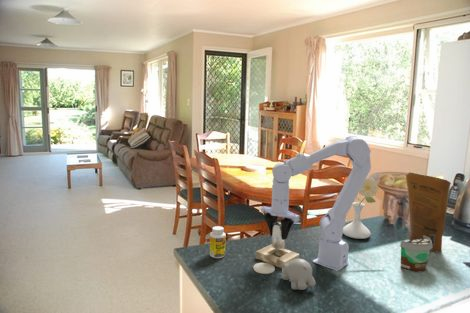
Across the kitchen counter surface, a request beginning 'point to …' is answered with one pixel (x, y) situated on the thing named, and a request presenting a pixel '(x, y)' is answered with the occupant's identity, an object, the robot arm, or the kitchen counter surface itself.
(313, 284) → the round bodied animal figurine
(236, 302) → the kitchen counter surface
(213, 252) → the supplement bottle
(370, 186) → the flower in vase
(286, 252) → the beige flat block
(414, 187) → the pancake mix bag
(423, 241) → the food container
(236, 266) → the kitchen counter surface
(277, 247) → the end plug
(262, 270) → the coaster
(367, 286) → the kitchen counter surface
